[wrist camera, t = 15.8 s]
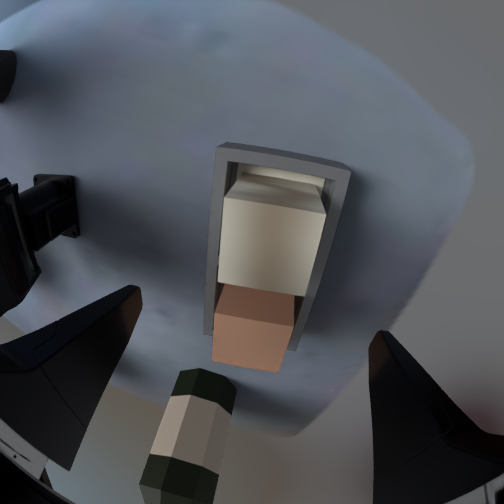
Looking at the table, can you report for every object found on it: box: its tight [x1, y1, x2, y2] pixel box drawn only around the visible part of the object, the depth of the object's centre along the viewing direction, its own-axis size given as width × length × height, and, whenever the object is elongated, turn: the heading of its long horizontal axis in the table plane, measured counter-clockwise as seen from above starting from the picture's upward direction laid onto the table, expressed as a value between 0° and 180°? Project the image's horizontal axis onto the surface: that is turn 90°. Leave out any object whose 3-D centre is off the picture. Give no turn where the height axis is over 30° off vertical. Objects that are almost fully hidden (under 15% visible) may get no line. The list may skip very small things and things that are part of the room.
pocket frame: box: [203, 142, 351, 351], centre depth 21 cm, size 8×16×3 cm, turn 172°
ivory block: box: [218, 172, 326, 297], centre depth 17 cm, size 5×5×6 cm
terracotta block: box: [212, 283, 294, 373], centre depth 20 cm, size 5×5×6 cm
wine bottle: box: [139, 368, 237, 504], centre depth 20 cm, size 8×8×30 cm
